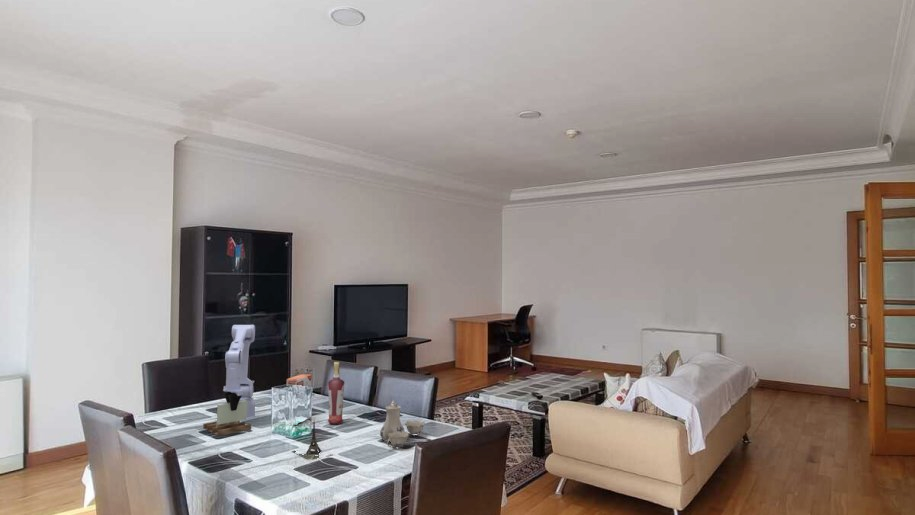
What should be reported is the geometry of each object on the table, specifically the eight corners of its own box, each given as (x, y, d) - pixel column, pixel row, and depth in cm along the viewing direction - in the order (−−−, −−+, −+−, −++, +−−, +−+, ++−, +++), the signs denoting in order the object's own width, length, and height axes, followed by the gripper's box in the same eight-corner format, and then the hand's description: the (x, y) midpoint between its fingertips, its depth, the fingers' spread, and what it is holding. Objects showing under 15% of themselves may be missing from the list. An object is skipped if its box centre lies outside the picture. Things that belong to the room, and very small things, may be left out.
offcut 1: (227, 428, 232) (227, 420, 233) (228, 428, 231) (229, 421, 232) (215, 430, 229) (216, 422, 229) (217, 431, 228) (217, 423, 228)
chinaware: (406, 456, 205) (411, 414, 206) (366, 448, 209) (371, 406, 209) (426, 436, 233) (430, 398, 233) (390, 429, 236) (394, 392, 237)
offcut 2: (236, 425, 237) (237, 417, 237) (238, 425, 236) (238, 418, 236) (225, 427, 234) (225, 419, 234) (227, 428, 233) (227, 420, 233)
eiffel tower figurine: (290, 452, 204) (291, 417, 205) (313, 447, 212) (314, 413, 212) (310, 462, 194) (311, 425, 195) (334, 456, 201) (335, 420, 202)
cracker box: (296, 426, 239) (297, 379, 240) (284, 425, 240) (285, 378, 241) (311, 418, 253) (312, 374, 254) (299, 417, 254) (300, 373, 255)
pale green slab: (244, 418, 234) (245, 400, 234) (246, 419, 232) (247, 400, 233) (216, 423, 225) (217, 404, 225) (218, 424, 223) (219, 405, 224)
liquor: (341, 425, 241) (342, 363, 242) (325, 425, 241) (326, 363, 243) (345, 421, 249) (346, 361, 250) (329, 420, 249) (331, 360, 250)
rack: (234, 423, 242) (235, 417, 242) (250, 430, 231) (251, 424, 231) (203, 429, 232) (203, 423, 232) (218, 437, 221) (218, 430, 221)
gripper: (216, 377, 231) (215, 408, 231) (231, 381, 221) (230, 414, 221) (232, 375, 236) (231, 405, 236) (248, 379, 227) (247, 411, 226)
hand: (232, 409), depth 229 cm, fingers closed on pale green slab, 2 cm apart
